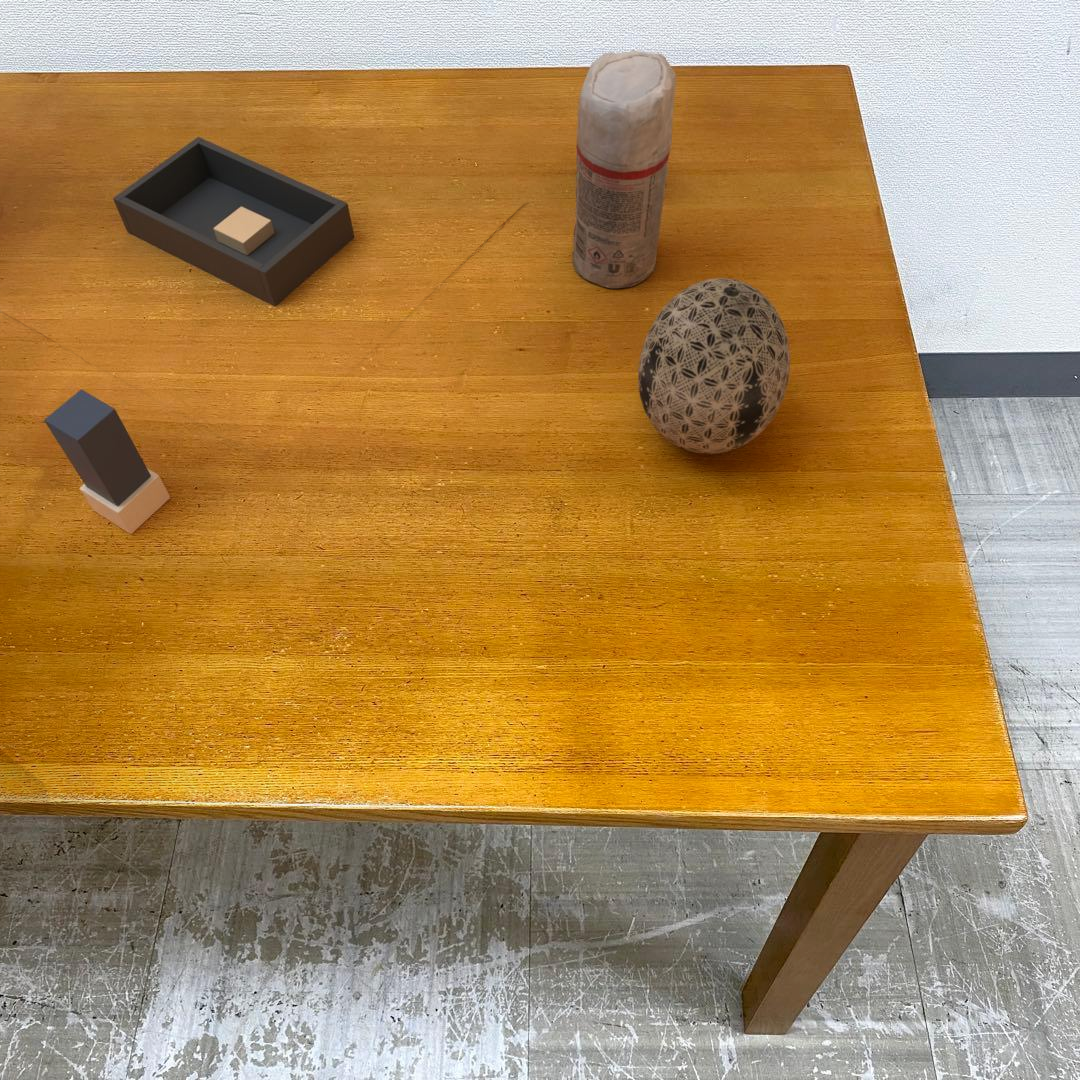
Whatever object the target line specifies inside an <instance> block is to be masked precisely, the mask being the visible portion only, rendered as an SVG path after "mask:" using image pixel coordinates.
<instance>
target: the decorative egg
mask: <svg viewBox="0 0 1080 1080" xmlns="http://www.w3.org/2000/svg"><path fill="white" fill-rule="evenodd" d="M640 352H641V353H640V357H639V363H638V371H637V377H638V378H637V383H638V393H639V398H640V401H641V405H642V407H643V410H644V413H645V415H646V416H647V418H648V420H649V421H650V423H651V424H652V426H653V427H654V429H655V430H656V431H657V433H659V434H660V435H661V437H663V438H664V439H665V440H666V441H668V442H669V443H671V444H672V445H674V446H676V447H678V448H680V449H683V450H685V451H687V452H691V453H696V454H705V455H715V454H716V455H717V454H723V453H728V452H730V451H731V452H732V451H733V450H736V449H739V448H741V447H743V446H745V445H747V444H748V443H750V442H751V441H752V440H754V439H755V438H756V437H758V436H759V435H760V434H761V433H762V432H763V431H764V430H765V429H766V428H767V427H768V426H769V424H770V423H771V422H772V420H773V419H774V417H775V416H776V414H777V412H778V411H779V409H780V407H781V405H782V402H783V400H784V398H785V394H786V392H787V387H788V384H789V378H790V372H791V371H790V370H791V369H790V368H791V354H790V353H791V352H790V342H789V337H788V334H787V330H786V327H785V324H784V322H783V320H782V318H781V315H780V314H779V313H778V311H777V309H776V308H775V306H774V304H773V303H772V302H771V301H770V300H769V299H768V297H767V296H765V295H764V293H762V292H761V291H760V290H758V289H757V288H755V287H754V286H752V285H751V284H748V283H746V282H745V281H742V280H739V279H733V278H729V277H727V278H725V277H724V278H723V277H722V278H718V277H717V278H710V279H705V280H702V281H699V282H696V283H694V284H692V285H690V286H688V287H686V288H685V289H683V290H682V291H680V292H678V293H677V294H676V295H675V296H674V297H672V298H671V299H670V300H669V301H668V302H667V303H666V304H665V306H664V307H662V309H661V310H660V311H659V312H658V313H657V316H656V317H655V319H654V321H653V323H652V324H651V326H650V329H649V331H648V332H647V334H646V337H645V340H644V342H643V346H642V349H641V351H640Z"/></svg>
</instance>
